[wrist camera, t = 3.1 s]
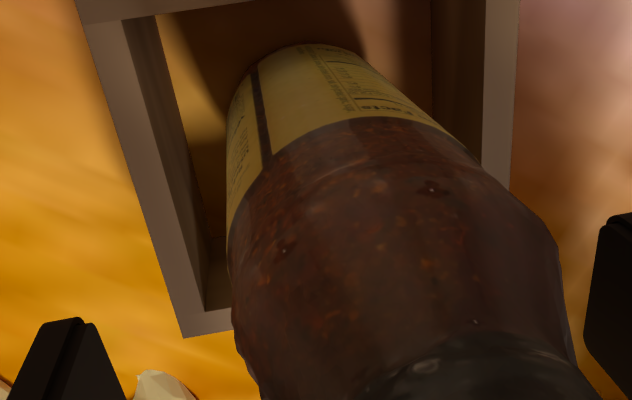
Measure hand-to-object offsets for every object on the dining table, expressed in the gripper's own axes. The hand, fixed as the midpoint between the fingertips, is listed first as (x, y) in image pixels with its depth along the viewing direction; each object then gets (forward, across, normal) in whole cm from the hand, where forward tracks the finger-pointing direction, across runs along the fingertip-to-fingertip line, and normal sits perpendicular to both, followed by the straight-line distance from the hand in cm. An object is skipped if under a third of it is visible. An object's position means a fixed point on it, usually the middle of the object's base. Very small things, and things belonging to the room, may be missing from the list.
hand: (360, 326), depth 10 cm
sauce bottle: (+13, -1, 0) cm, 13 cm away
